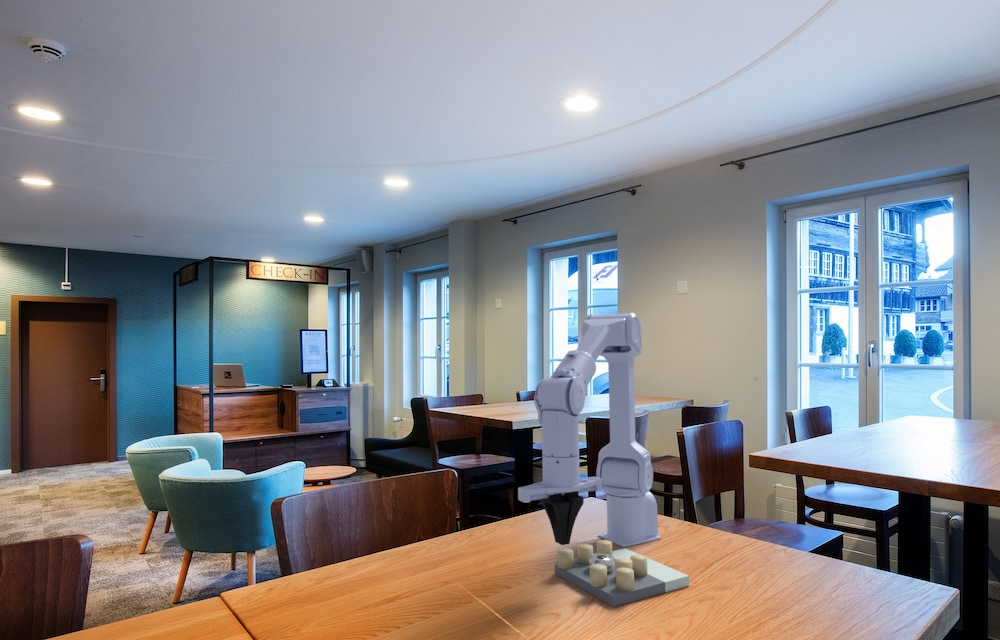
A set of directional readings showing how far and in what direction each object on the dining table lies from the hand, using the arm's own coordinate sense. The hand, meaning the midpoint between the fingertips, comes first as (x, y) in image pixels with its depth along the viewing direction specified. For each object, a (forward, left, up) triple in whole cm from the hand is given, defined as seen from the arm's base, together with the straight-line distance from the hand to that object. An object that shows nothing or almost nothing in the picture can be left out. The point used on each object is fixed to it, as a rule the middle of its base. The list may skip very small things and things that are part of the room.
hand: (562, 542), depth 95 cm
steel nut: (-8, 0, -6) cm, 9 cm away
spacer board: (-10, +1, -7) cm, 12 cm away
